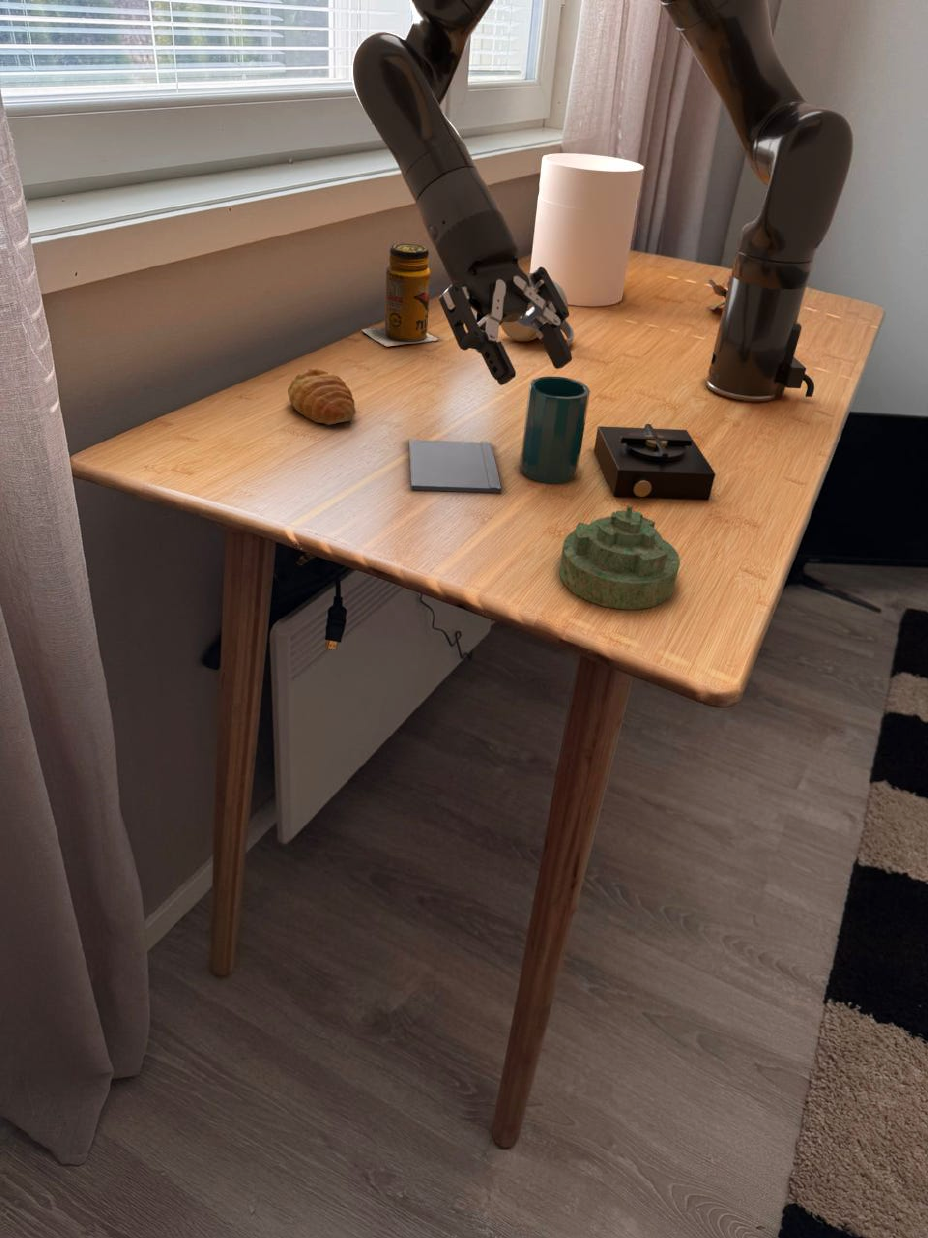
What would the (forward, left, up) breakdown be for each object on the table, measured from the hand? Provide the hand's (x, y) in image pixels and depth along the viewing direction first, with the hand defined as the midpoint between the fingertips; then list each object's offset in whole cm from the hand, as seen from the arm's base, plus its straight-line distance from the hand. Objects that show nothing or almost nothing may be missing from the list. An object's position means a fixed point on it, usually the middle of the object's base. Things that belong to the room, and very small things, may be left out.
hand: (537, 372), depth 94 cm
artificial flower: (-40, -53, -10) cm, 67 cm away
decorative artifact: (-5, +23, -10) cm, 26 cm away
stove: (-13, +2, -10) cm, 16 cm away
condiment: (+13, -40, -10) cm, 43 cm away
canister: (-17, -68, -10) cm, 70 cm away
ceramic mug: (-7, -42, -10) cm, 43 cm away
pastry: (+22, -11, -10) cm, 27 cm away
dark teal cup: (-2, +2, -10) cm, 10 cm away
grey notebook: (+8, +2, -10) cm, 13 cm away
